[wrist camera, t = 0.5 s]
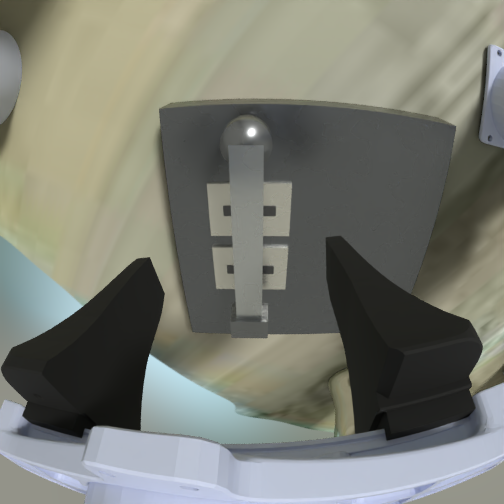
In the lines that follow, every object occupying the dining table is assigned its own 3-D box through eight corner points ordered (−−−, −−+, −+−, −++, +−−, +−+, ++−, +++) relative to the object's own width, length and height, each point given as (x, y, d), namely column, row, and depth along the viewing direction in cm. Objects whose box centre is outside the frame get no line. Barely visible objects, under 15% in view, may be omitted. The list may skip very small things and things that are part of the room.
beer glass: (343, 359, 32) (364, 488, 19) (390, 366, 33) (418, 480, 21) (314, 390, 36) (323, 503, 23) (358, 395, 37) (375, 497, 24)
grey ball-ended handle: (222, 115, 14) (217, 121, 13) (271, 114, 14) (273, 121, 13) (233, 318, 22) (231, 337, 21) (267, 318, 22) (267, 338, 20)
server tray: (437, 117, 17) (470, 133, 14) (388, 310, 27) (401, 343, 24) (170, 102, 18) (149, 113, 14) (197, 311, 28) (189, 347, 24)
